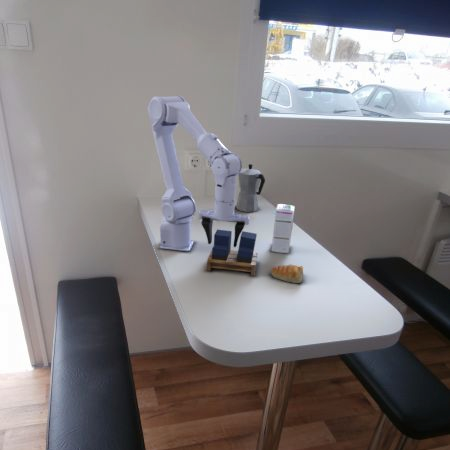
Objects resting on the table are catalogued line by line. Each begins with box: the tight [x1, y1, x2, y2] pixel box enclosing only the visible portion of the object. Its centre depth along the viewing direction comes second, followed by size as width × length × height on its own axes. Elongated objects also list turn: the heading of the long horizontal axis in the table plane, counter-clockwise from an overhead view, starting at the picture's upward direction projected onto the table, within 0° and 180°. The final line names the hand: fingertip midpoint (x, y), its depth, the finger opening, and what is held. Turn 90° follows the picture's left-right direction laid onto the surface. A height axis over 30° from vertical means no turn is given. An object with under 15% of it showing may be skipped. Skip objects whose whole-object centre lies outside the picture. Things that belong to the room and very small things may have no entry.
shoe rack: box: [206, 249, 258, 277], centre depth 121 cm, size 14×9×4 cm, turn 82°
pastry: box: [270, 264, 304, 284], centre depth 118 cm, size 9×7×4 cm
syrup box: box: [271, 203, 296, 254], centre depth 132 cm, size 6×6×14 cm
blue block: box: [211, 229, 233, 261], centre depth 119 cm, size 7×4×6 cm, turn 170°
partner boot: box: [236, 230, 258, 263], centre depth 118 cm, size 7×4×6 cm, turn 172°
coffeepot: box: [235, 163, 266, 213], centre depth 164 cm, size 15×9×18 cm, turn 37°
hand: (222, 244), depth 120 cm, fingers open, 7 cm apart
